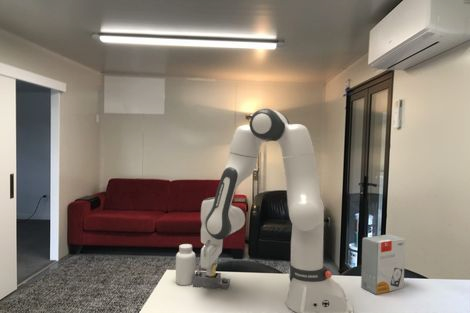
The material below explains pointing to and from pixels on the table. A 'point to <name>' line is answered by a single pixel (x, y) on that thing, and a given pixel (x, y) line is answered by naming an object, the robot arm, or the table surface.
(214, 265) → the pin
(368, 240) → the hard drive box
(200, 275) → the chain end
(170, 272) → the table surface
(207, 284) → the chain end
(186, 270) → the pill bottle
